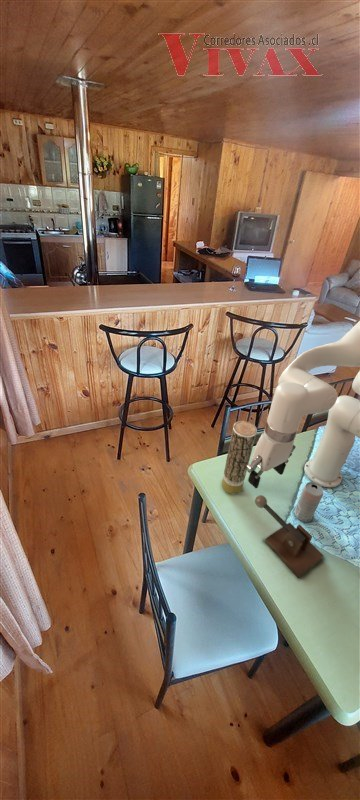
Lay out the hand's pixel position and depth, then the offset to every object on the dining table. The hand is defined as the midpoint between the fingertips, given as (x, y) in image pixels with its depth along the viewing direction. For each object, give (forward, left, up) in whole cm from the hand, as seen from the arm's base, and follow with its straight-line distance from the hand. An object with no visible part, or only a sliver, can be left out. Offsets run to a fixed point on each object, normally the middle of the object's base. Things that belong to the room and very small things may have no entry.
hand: (265, 477), depth 91 cm
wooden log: (-1, -12, -17) cm, 21 cm away
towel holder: (-1, +14, -17) cm, 22 cm away
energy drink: (-13, +8, -17) cm, 23 cm away
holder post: (-1, +7, -13) cm, 15 cm away
